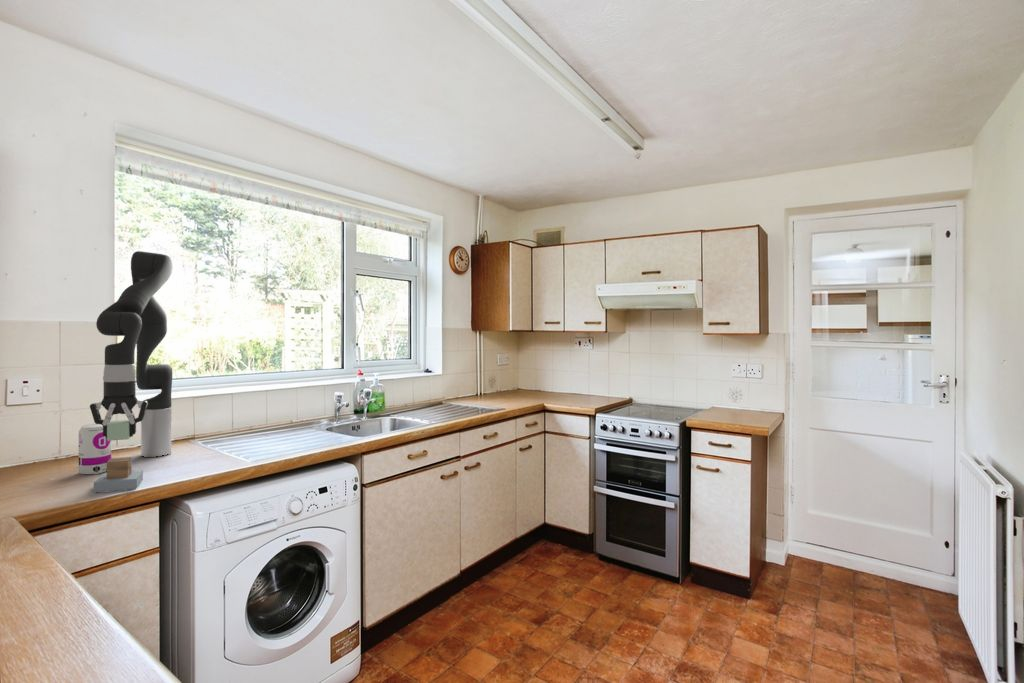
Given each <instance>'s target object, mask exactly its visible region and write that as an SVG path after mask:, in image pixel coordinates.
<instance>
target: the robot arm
mask: <svg viewBox="0 0 1024 683" xmlns="http://www.w3.org/2000/svg"><path fill="white" fill-rule="evenodd" d="M130 258H131V259H130V273H131V274H130V275H131V280H132V284H131V285H129V286H128V287H126V288H125V289H124V290H123V291H122V293H121V295H119V298H118V299H117V301H115V302H114V303H113V304H111V305H109V306H108V307H107V308H105V309H104V310H103V311H101V313H100V314H99V315H98V317H97V318H96V322H95V325H96V326H95V327H96V328H97V331H98V332H99V333H100V334H102V335H104V336H108V337H109V336H110V337H112V336H114V337H115V336H118V337H123V339H122V340H121V341H120V342H117V343H110V344H107V345H106V346H105V348H104V367H103V376H102V381H103V396H102V400H101V401H99V402H93V403H91V404H90V405H89V409H90V413H91V415H92V418H93V422H94V424H101V425H103V436H106V438H107V423H109V422H110V421H112V419H113V417H114V415H119V414H121V415H125V416H126V418H127V420H129V422H130V425H129V436H130V438H132V437H133V436H134V435H136V433H137V423H140V456H141V457H142V456H144V457H143V458H157V457H156V456H158V457H163V456H162V455H164V456H168V455H170V454H171V453H172V389H173V388H172V386H173V367H172V366H171V365H170V364H148V362H149V358H150V357H151V355H152V354H153V353H154V350H155V349H156V348H157V347H158V346H159V345H160V343H161V342H162V341H163V340H164V338H165V337H166V335H167V333H168V318H167V313H166V311H165V310H164V308H163V307H162V305H161V304H160V303H159V302H158V301H157V299H156V298H155V296H154V295H155V294H156V293H157V292H158V291H159V290H160V289H161V288H162V287H163V286H164V285H165V284H166V282H167V281H168V280H169V279H170V277H171V276H172V273H173V260H172V257H170V256H169V255H167V254H164V253H157V252H149V251H142V250H141V251H139V250H138V251H135V252H133V253H132V256H131V257H130ZM135 350H136V354H135ZM135 355H136V364H135ZM135 367H136V368H135ZM136 387H137V388H138V389H139V390H143V391H149V390H150V391H151V390H153V391H154V390H160V391H161V392H159V394H157V395H155V396H153V397H150V398H145V399H143V400H138V398H137V396H136ZM136 405H137V407H138V408H139V412H138V416H137V417H136V416H135V414H134V411H133V408H134V407H135V406H136ZM102 407H103V408H104V409H105V410H106V411H107V412H106V414H105V415H104V418H103V419H102V415H101V413H100V410H101V408H102ZM167 454H168V455H167Z"/></svg>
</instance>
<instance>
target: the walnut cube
mask: <svg viewBox="0 0 1024 683" xmlns="http://www.w3.org/2000/svg"><path fill="white" fill-rule="evenodd" d="M131 471H132V456H123V457H111V459H110V460H108V461H107V472H106V473H107V479H116V478H127V477H129V475H130V474H131Z"/></svg>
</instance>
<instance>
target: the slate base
mask: <svg viewBox="0 0 1024 683" xmlns="http://www.w3.org/2000/svg"><path fill="white" fill-rule="evenodd" d="M143 480H144V470H142V469H141V470H140V469H139V470H131V474H130V475H129V477H127V478H116V479H107V472H104V473H101V475H99V477H98V478H97V479H95V481H94V482H93V494H97V493H96V492H101V493H106V492H105V491H111V492H116V491H115V490H121V491H126V490H125V489H130V490H137V489H138V488H139V486H140V485H141V483H142V481H143ZM137 487H138V488H137ZM136 488H137V489H136Z"/></svg>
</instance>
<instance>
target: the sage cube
mask: <svg viewBox="0 0 1024 683" xmlns="http://www.w3.org/2000/svg"><path fill="white" fill-rule="evenodd" d="M129 425H130V422H129V420H128V419H121V420H120V419H119V420H110V422H109V423H107V441H111V442H112V441H123V440H124V441H125V440H130V438H131V437H130V436H129Z"/></svg>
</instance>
